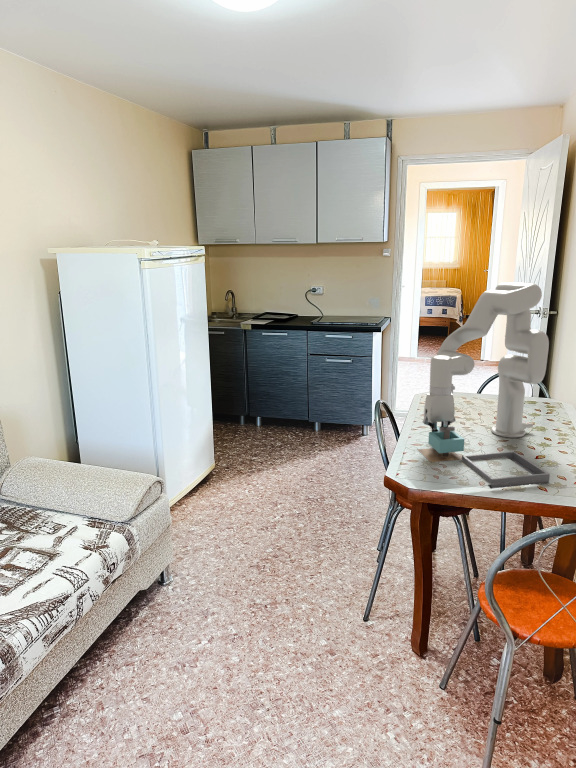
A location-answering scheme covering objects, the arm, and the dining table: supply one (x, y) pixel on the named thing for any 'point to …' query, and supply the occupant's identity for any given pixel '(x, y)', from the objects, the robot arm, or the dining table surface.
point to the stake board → (437, 457)
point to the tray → (536, 476)
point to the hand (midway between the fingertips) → (438, 438)
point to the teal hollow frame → (446, 442)
